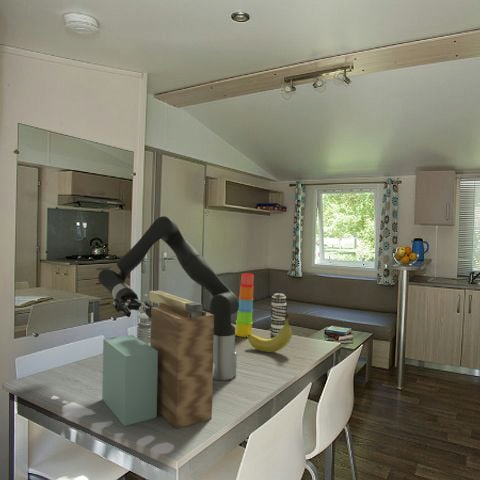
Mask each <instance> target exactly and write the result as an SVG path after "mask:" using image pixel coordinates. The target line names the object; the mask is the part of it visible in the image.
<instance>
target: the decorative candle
mask: <svg viewBox="0 0 480 480" xmlns="http://www.w3.org/2000/svg"><path fill="white" fill-rule="evenodd" d="M269 306H270V308H269V309H270V319H271V322H270V323H271V324H270V328H269V329H270V333H269V335H270V336H269V339H272V338H274V337H276V336H277V335H278V333H279V332H280V331H281V329H282V328H283V326H284V324H285V318H284V317H285V316H286V314H287V313H288V312H286V311H287V310H288V305H287V296H286V295H285V294H284V293H277V292H276V293H273V295H272V296H271V304H270V305H269Z"/></svg>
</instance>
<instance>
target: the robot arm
mask: <svg viewBox="0 0 480 480" xmlns="http://www.w3.org/2000/svg"><path fill="white" fill-rule="evenodd" d="M160 240H162V241H163V242H164V243H165V244H166V245H167V246H168V247H169V248H170V249H171V250H172V251H173V253H174V254H175V256H176V259H177V262H178V263H179V265H180V267H181V268H182V269H183V270H184V272H185V273H186V274H187V276H188V277H189V278H190V279H191V280H192V281H194V283H196V284H198V285H199V286H201V287H202V288H204V289H205V290H206V291H208V292H209V294H210V295H211V296H212V298H211V300H210V303H209V313H210V314H213V315H214V341H213V363H214V364H215V368H214V373H213V380H216V381H229V379H230V380H232V379H234V378H235V377H234V376H236V377H237V357H238V354H237V352H236V350H235V349H236V348H235V347H236V346H235V345H236V344H235V343H236V341H235V340H236V335H235V332H236V326H234V325H233V324H232V317H231V316H232V315H234V314H236V313H237V312H238V309H239V298H238V296H237V295H236V294H235V292H233V291H232V290H231V289H230V288H229V287H228V286H227V285H226V284H225V283H224V282H223V281H222V280H221V279H220V278H219V276H218V275H217V274H216V273H215V271H214V269H212V267H210V265H209V264H208V262H207V261H206V260H205V258H204V257H203V255H201V254H200V252H199V251H198V250H197V249H196V248H195V247H194V246H193V245H192V244H190V242H189V241H188V240H187V239H186V238H185V236H184V234H183V233H182V231H181V230H180V228H179V226H178V225H177V223H176V222H175V221H174V220H172V219H171V218H170V217H168V216H165V215H162V216H159V217H158V218H156V219H155V220H154V221H153V223H152V224H151V225H150V226H149V228H148V229H147V230H146V231H145V232H144V234H143V235H142V236H141V238H140V239H139V240H138V241H137V242H136V243H135V244H134V245H133V246H132V248H130V250H128V251H127V252H126V253H125V254H124V255H123V256H122V257H121V258H120V259H119V260H118V261H117V262H116V266H117V267H118V269H119V270H120V271H119V273H117V272H116V271H115V270H114V269H112V268H108V267H107V268H103V269H101V270H100V271H99V272H98V275H97V276H98V277H97V278H98V282H99V283H100V285H102V286H103V287H104V288H105V289H106V290H107V291H109V293H110V294H111V296H112V297H113V302H112V307H113V308H114V310H115V312H116V313H119V312H121V313H123V314H124V315H125V316H126V317H127V318H130V317H131V315H132V311H137V312H139V313H146V315H147V316H148V317H149V318H148V319H151V307H154V306H153V305H152V304H151V303H150V301H148V300H146V301H145V300H144V301H143V302H142V301H141V300H140V299H139V297H138V295H137V293H136V292H135V291H134V290H133V289H132V288H131V286H130V285H128V284H127V283H126V282H125V281H126V279H127V278H128V277H129V275H130V274H131V273H132V271H134V270H135V269H136V268H137V267H138V266H139V265H140V264H142V262H143V261H144V259H145V257H146V256H147V254H148V253H149V251H150V249H151V248H152V247H153V245H155V244H156V243H157V242H159V241H160ZM233 377H234V378H233ZM231 378H232V379H231Z"/></svg>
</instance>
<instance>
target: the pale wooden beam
mask: <svg viewBox="0 0 480 480" xmlns="http://www.w3.org/2000/svg"><path fill="white" fill-rule="evenodd" d="M148 294H149V297H148V299H149V301H148V302H151V303H154V304H156V305H159V303H163V304H166V305H169V306H171V307H174V308H177V309H179V310H182V311H184V312H187V313H190V317H200V316H202V311H203V304H202V303H200V302H198V301H197V302H195V301H191V300H189V299H186V298H184V297H180V296H177V295H173V294H170V293H167V292H164V291H162V290H149V293H148Z"/></svg>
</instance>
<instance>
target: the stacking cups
mask: <svg viewBox="0 0 480 480" xmlns="http://www.w3.org/2000/svg"><path fill="white" fill-rule="evenodd" d="M254 277H255V276H254V273H241V279H240V285H239V296H237V299H238V301H239V309H238V311H237V312H236V313H237V314H236V320H235V323H236V324H235V337H236V336H237V337H240V338H247V337H246V336H248V335H249V334H251V333H252V327H253V324H254V323H253V312H254V309H253V307H254V305H253V304H254V288H255V286H254Z"/></svg>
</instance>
